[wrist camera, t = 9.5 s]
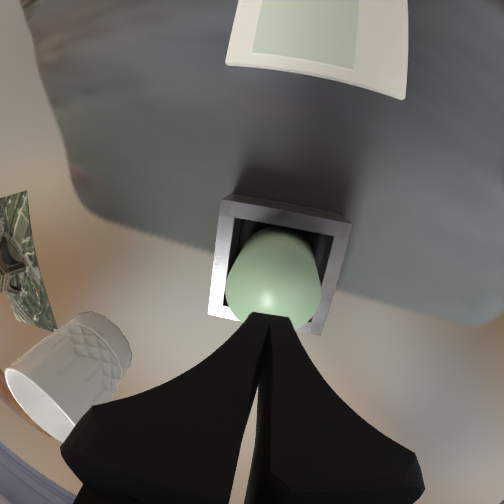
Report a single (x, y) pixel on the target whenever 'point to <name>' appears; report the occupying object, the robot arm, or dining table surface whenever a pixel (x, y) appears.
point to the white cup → (70, 372)
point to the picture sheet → (326, 40)
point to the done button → (274, 277)
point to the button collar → (288, 216)
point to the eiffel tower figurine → (22, 265)
